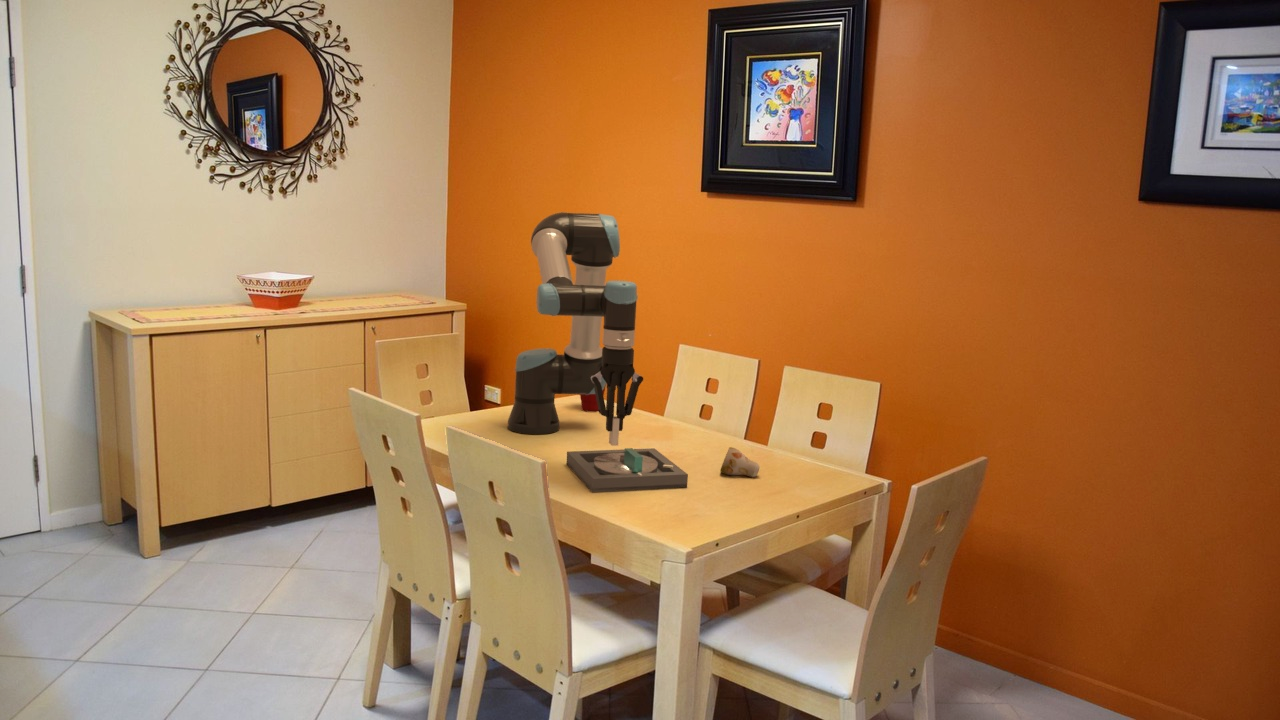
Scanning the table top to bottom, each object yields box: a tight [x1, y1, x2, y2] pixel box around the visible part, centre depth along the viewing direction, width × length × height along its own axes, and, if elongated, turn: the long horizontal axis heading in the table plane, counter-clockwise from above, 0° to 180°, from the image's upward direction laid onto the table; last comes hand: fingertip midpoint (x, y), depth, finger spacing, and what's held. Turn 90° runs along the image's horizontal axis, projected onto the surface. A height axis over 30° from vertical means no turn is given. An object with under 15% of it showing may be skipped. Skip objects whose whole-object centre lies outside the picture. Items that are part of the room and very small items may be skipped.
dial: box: [593, 447, 658, 475], centre depth 242 cm, size 18×16×6 cm
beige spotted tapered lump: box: [719, 446, 760, 478], centre depth 249 cm, size 8×10×10 cm
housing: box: [566, 448, 689, 494], centre depth 243 cm, size 24×24×4 cm
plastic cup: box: [579, 384, 607, 412], centre depth 313 cm, size 11×11×12 cm
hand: (613, 444), depth 232 cm, fingers closed
